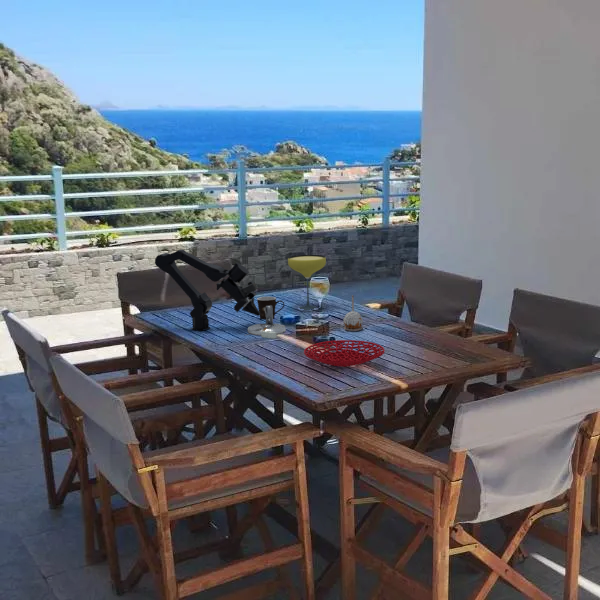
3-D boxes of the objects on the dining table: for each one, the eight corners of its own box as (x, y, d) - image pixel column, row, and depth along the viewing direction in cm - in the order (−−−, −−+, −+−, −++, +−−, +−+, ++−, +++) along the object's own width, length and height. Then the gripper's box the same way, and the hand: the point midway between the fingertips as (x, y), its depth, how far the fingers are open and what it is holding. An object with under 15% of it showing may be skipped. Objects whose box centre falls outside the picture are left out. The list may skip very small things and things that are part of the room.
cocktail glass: (327, 312, 385) (326, 259, 380) (289, 313, 385) (287, 260, 380) (326, 304, 402) (325, 254, 397) (290, 305, 403) (288, 255, 398)
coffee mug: (254, 321, 370) (253, 299, 368) (262, 317, 378) (261, 296, 376) (278, 322, 366) (277, 301, 364) (285, 318, 374) (285, 297, 372)
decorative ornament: (365, 330, 347) (364, 296, 344) (348, 332, 345) (347, 297, 342) (358, 326, 354) (357, 293, 351) (341, 328, 352) (340, 294, 349)
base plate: (233, 336, 344) (232, 326, 343) (261, 326, 361) (260, 317, 360) (272, 341, 333) (272, 331, 332) (299, 330, 350) (298, 321, 349)
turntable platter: (281, 335, 338) (280, 313, 336) (243, 335, 341) (242, 313, 339) (288, 326, 353) (288, 305, 351) (252, 326, 356) (251, 305, 354)
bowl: (325, 379, 280) (325, 365, 279) (291, 359, 307) (291, 346, 306) (399, 367, 292) (399, 354, 291) (361, 349, 318) (361, 336, 317)
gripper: (240, 280, 340) (267, 306, 340) (250, 272, 358) (276, 297, 358) (222, 299, 343) (249, 324, 343) (234, 290, 361) (259, 315, 361)
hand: (259, 314), depth 351 cm, fingers closed
